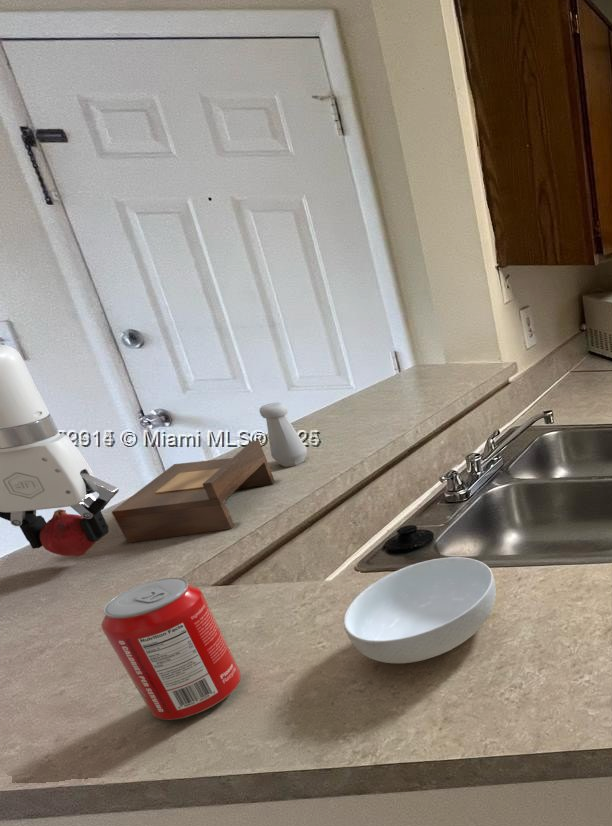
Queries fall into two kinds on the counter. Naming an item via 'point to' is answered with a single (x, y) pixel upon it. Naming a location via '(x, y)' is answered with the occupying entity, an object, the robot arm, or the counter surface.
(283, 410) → the salt shaker
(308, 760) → the counter surface
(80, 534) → the pomegranate
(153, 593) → the soda can
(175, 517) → the wooden display stand
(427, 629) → the cereal bowl
